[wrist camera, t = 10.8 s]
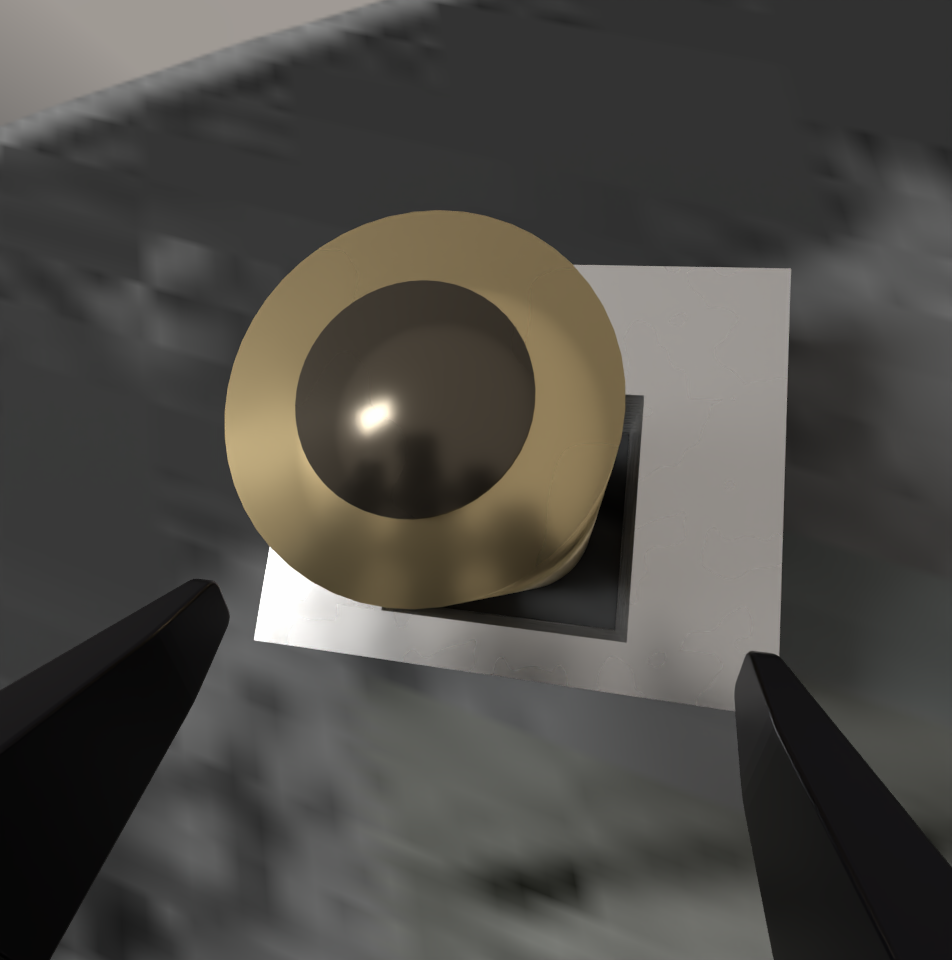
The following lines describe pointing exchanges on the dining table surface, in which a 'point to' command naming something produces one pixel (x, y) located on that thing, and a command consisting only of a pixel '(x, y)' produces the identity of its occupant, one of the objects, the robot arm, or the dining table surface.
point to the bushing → (427, 412)
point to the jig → (635, 512)
